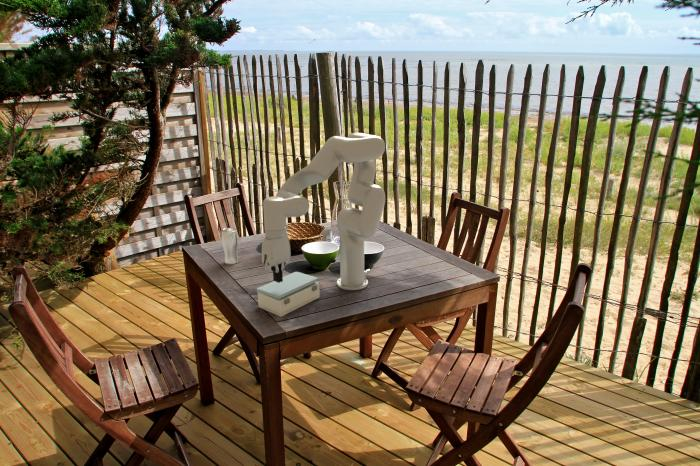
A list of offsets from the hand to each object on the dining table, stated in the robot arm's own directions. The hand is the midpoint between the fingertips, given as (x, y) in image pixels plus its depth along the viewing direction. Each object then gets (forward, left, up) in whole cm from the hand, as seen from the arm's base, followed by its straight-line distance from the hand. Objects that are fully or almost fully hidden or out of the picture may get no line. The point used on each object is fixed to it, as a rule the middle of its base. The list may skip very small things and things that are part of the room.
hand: (278, 281), depth 187 cm
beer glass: (-17, -50, -11) cm, 55 cm away
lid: (-6, -2, -5) cm, 8 cm away
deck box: (-6, -1, -11) cm, 13 cm away
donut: (-58, -28, -11) cm, 66 cm away
